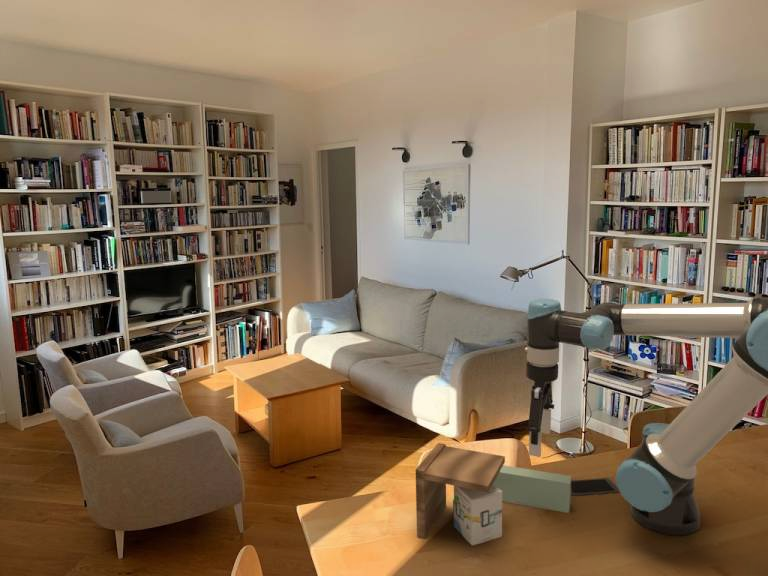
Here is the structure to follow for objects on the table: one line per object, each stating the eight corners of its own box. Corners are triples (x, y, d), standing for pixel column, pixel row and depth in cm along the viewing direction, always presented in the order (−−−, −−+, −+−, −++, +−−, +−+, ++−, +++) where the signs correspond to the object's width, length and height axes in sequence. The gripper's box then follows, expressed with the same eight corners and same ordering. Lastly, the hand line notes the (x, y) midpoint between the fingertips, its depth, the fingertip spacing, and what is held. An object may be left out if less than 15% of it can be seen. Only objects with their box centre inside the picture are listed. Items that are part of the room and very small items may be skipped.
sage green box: (570, 505, 148) (571, 475, 147) (565, 534, 136) (566, 503, 135) (466, 486, 159) (466, 459, 157) (453, 513, 146) (452, 483, 145)
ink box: (453, 526, 140) (452, 482, 138) (483, 518, 144) (483, 474, 142) (471, 546, 133) (471, 499, 131) (503, 536, 136) (503, 490, 134)
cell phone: (621, 494, 153) (621, 491, 153) (570, 497, 152) (570, 495, 152) (608, 480, 161) (609, 477, 160) (559, 483, 160) (559, 480, 159)
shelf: (504, 519, 143) (504, 454, 140) (487, 554, 130) (488, 483, 127) (438, 504, 150) (438, 442, 147) (416, 536, 137) (415, 469, 134)
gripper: (536, 347, 155) (534, 422, 159) (515, 376, 133) (513, 462, 137) (565, 350, 152) (562, 426, 156) (549, 380, 129) (546, 469, 133)
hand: (539, 443), depth 146 cm, fingers open, 13 cm apart
